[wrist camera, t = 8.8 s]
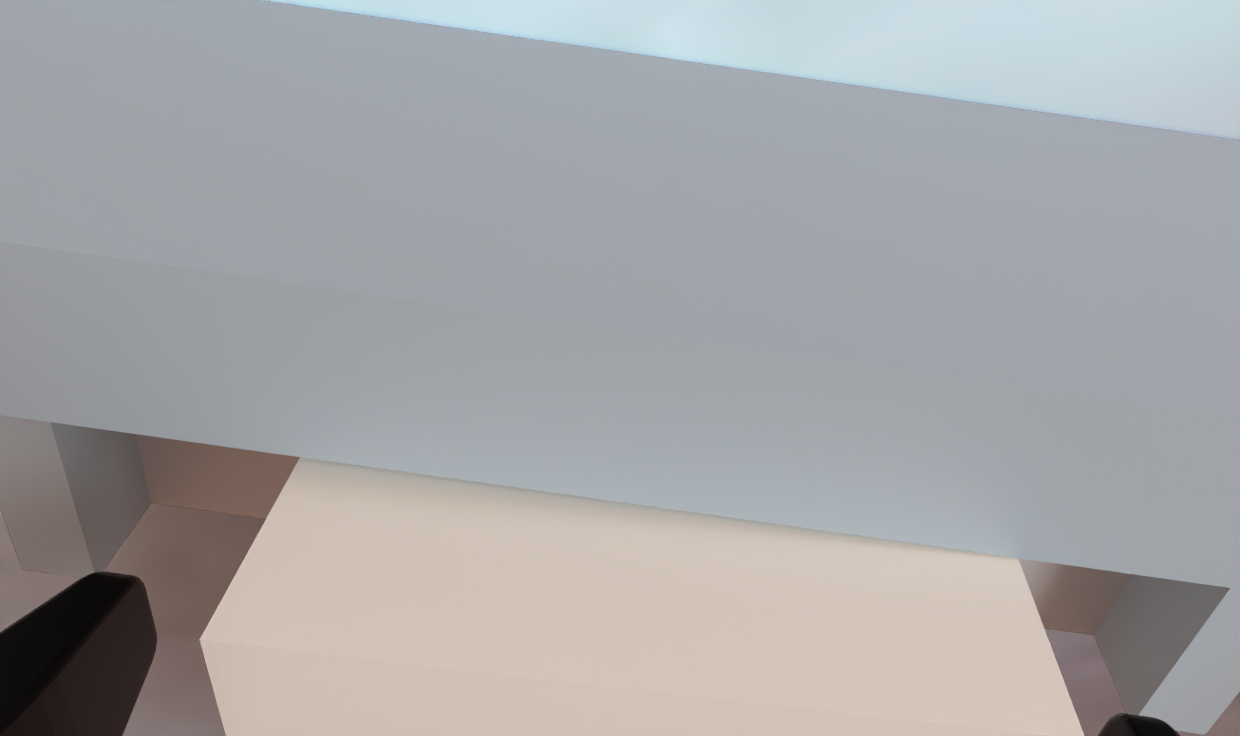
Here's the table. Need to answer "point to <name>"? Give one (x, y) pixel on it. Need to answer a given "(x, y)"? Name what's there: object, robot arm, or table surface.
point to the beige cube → (610, 622)
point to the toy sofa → (620, 303)
